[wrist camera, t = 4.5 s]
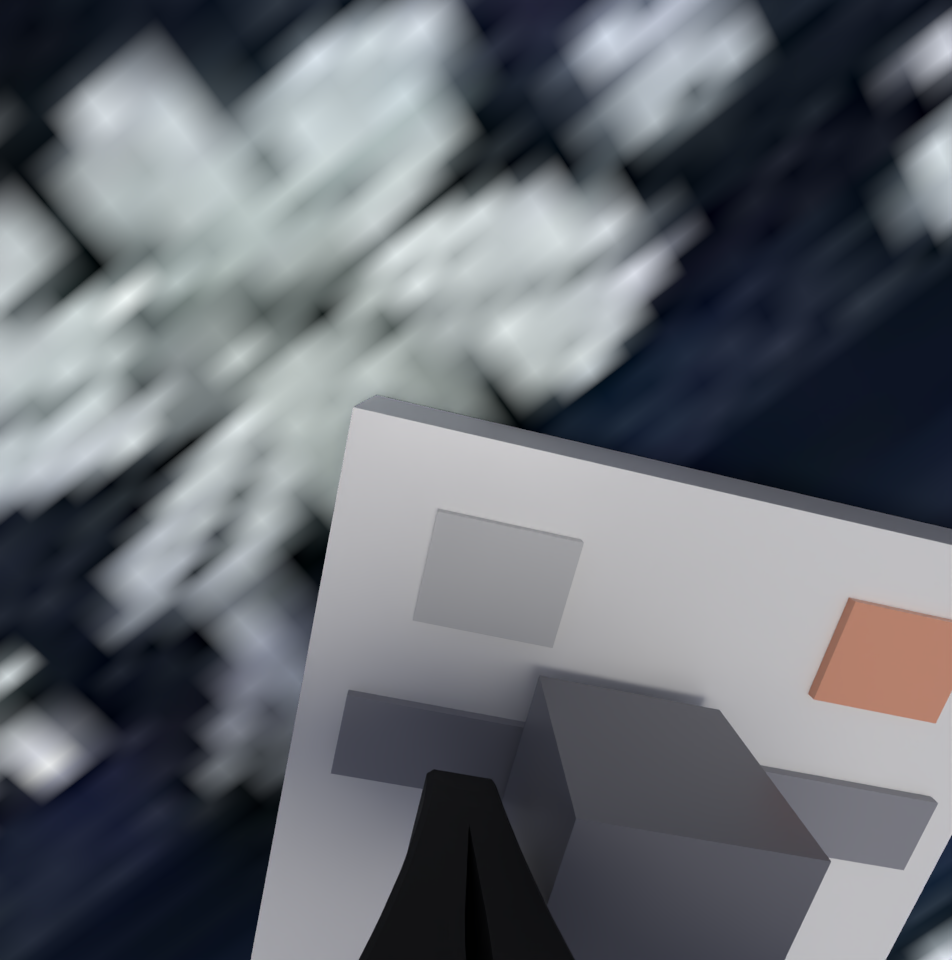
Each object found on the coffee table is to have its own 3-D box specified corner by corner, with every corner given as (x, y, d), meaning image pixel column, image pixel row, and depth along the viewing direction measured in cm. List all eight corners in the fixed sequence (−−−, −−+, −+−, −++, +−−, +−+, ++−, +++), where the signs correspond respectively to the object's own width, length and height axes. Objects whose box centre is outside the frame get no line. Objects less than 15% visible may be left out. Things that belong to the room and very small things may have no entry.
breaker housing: (287, 851, 16) (247, 971, 13) (376, 394, 13) (351, 407, 10) (777, 927, 18) (847, 1051, 14) (960, 531, 14) (1098, 580, 11)
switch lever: (482, 866, 12) (493, 1066, 9) (539, 675, 11) (575, 818, 8) (648, 892, 13) (720, 1094, 9) (719, 710, 11) (831, 861, 8)
